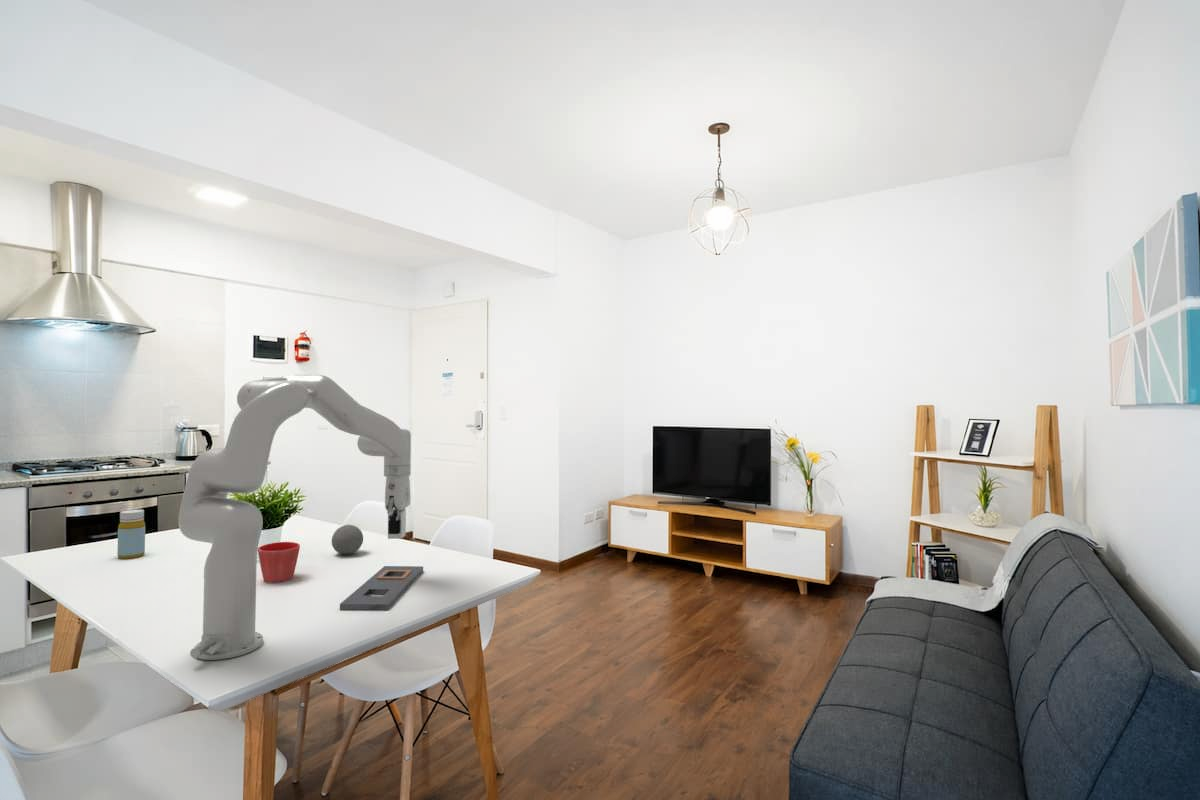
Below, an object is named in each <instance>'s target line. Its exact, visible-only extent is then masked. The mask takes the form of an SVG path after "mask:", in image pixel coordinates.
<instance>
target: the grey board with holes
mask: <svg viewBox="0 0 1200 800" xmlns="http://www.w3.org/2000/svg"><path fill="white" fill-rule="evenodd" d="M423 572H424V566H423V565H422V566H421V565H420V566H418V565H417V566H416V565H415V566H414V565H413V566H411V565H408V566H407V565H404V566H403V565H384V566H383V567H382V568H381V569H380V570H378V571H377V572H376V573H375V574H374V575H373V576H371V577H369V579H367V580H366V581H365V582H364V583H363V584H362V585H360V587H358V588H357V589H355V591H354V592H352V593H351V594H350V595H349V596H347V597H346V598H345V599H344V600H343V601H342V602H340V603H339V611H388V610H389V609H390V608H392V606H393V605H394V604H395V603H396V602H397V600H399V599H400V597H401V596H402V595H403V594H404V593H405V592H406V591H407V590H408V589H409V588H410V586H411V585H412V584H413V583H414V582H415V581H416V580H417V579H418V578H419V576H420V575H421V574H422V573H423ZM369 594H374V595H369Z"/></svg>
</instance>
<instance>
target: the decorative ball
mask: <svg viewBox="0 0 1200 800" xmlns="http://www.w3.org/2000/svg"><path fill="white" fill-rule="evenodd" d="M363 543H364V535H363V532H362V530H361V529H360V528H359V527H357V526H356V525H353V524H345V525H342V526H340V527H339V528H337V529H336V530H335V531H334V532H333V534H332V537H331V545H332V548H333V549H334V551H335V552H336V553H338V554H340V555H345V556H347V555H352V554H354V553H356V552H357V551H359V549H360V548H361V547H362V545H363Z"/></svg>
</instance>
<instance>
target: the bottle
mask: <svg viewBox="0 0 1200 800" xmlns="http://www.w3.org/2000/svg"><path fill="white" fill-rule="evenodd" d="M145 551H146V523H145V510H144V509H126V510H122V511H120V512H119V523H118V526H117V557H118V558H119V559H120V560H130V559H137V558H140V557H142V556H144V555H145Z"/></svg>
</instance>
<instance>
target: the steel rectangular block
mask: <svg viewBox="0 0 1200 800" xmlns="http://www.w3.org/2000/svg"><path fill="white" fill-rule="evenodd" d="M393 510H397V509H393ZM406 510H407V508H405V509H403V510H399V520H400V533H399V534H389V533H388V532H387V539H388V540H389V539H391V540H392V539H393V540H394V539H398V540H399V539H401V540H402V539H403V538H404V537H405V536H406V534H407V533H406V530H407V529H406V528H407V527H406V523H407V522H406V520H407V519H406V516H407V511H406ZM394 513H395V514H396V512H394Z"/></svg>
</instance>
